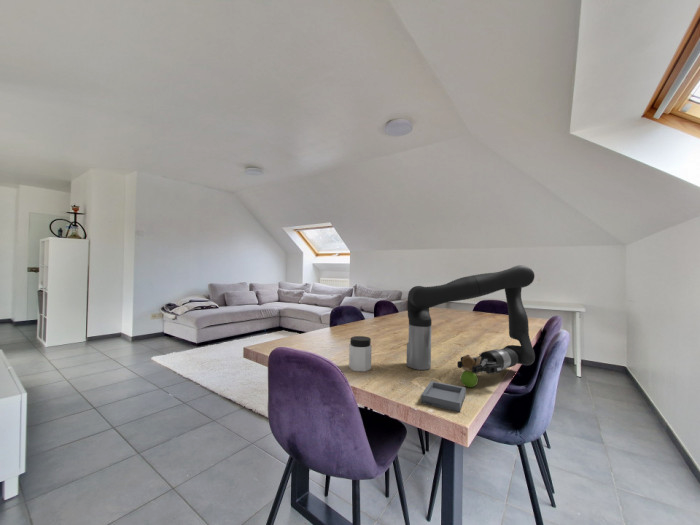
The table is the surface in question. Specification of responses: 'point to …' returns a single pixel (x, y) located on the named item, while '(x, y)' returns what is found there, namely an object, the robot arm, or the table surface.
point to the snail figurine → (469, 371)
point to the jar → (360, 353)
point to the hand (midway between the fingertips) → (465, 367)
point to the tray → (444, 396)
